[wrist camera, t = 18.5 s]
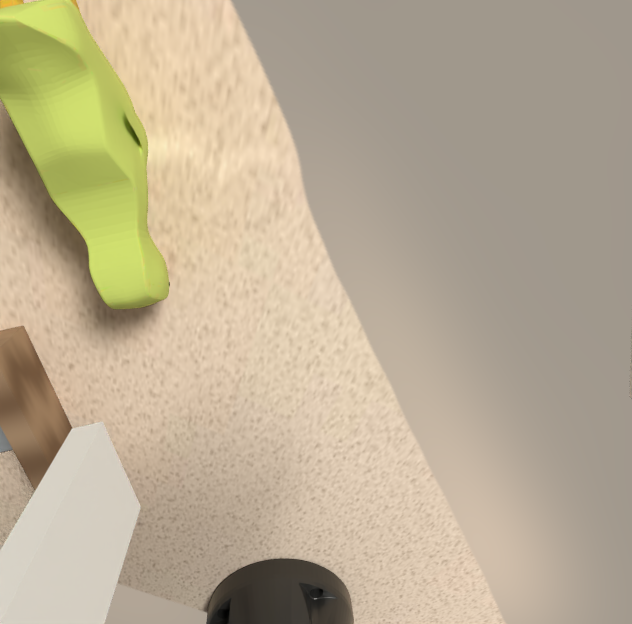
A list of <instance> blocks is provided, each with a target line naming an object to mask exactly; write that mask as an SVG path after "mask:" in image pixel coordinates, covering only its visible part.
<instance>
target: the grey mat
mask: <svg viewBox="0 0 632 624" xmlns="http://www.w3.org/2000/svg"><path fill="white" fill-rule="evenodd" d="M8 450H13V449H12V447H11V445H10V443H9V441H8V439H7V438H6V436H5V434H4V432H3V430H2V428H1V426H0V452H4V451H8Z"/></svg>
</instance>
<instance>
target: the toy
mask: <svg viewBox="0 0 632 624" xmlns="http://www.w3.org/2000/svg"><path fill="white" fill-rule="evenodd" d="M0 99H1V101H2V103H3V104H4V106H5V108H6V110H7V112H8V114H9V116H10V118H11V120H12V122H13V124H14V126H15V128H16V130H17V132H18V134H19V136H20V138H21V140H22V142H23V143H24V145H25V147H26V149H27V151H28V153H29V155H30V157H31V159H32V161H33V163H34V165H35V167H36V169H37V171H38V173H39V175H40V177H41V179H42V181H43V183H44V185H45V187H46V189H47V191H48V193H49V195H50V197H51V199H52V200H53V202H54V203H55V204H56V205H57V207H58V208H59V209H60V210H61V211H62V213H63V214H64V215H65V216H66V217H67V218H68V219H69V221H70V222H71V223H72V224H73V225H74V227H75V228H76V229H77V230H78V231H79V233H80V234H81V236H82V237H83V239H84V240H85V242H86V245H87V247H88V253H89V270H90V274H91V278H92V280H93V283H94V285H95V287H96V289H97V291H98V293H99V295H100V296H101V298H102V299H103V301H104V302H105V303H106V304H107V305H108V306H109V307H110V308H112V309H133V308H141V307H146V306H149V305H152V304H154V303H156V302H159V301H161V300H164V299H166V298H167V296H168V293H169V286H170V283H169V278H168V272H167V267H166V263H165V260H164V258H163V256H162V255H161V253H160V252H159V250H158V249H157V247H156V246H155V244H154V242H153V241H152V239H151V237H150V235H149V232H148V227H147V212H148V186H147V171H146V166H147V156H148V141H147V136H146V132H145V129H144V127H143V125H142V123H141V121H140V120H139V118H138V116H137V115H136V113H135V110H134V107H133V104H132V102H131V99H130V97H129V95H128V93H127V91H126V89H125V87H124V85H123V83H122V82H121V80H120V78H119V77H118V75H117V74H116V72H115V71H114V69H113V68H112V66H111V65H110V63H109V62H108V60H107V59H106V57H105V56H104V54H103V53H102V51H101V50H100V48H99V47H98V45H97V44H96V42H95V40H94V39H93V37H92V36H91V34H90V32H89V30H88V28H87V26H86V24H85V22H84V20H83V18H82V16H81V13H80V11H79V8H78V5H77V2H76V0H40V1H34V2H29V3H23V0H0Z"/></svg>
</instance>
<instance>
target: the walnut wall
mask: <svg viewBox="0 0 632 624" xmlns="http://www.w3.org/2000/svg"><path fill="white" fill-rule="evenodd" d="M0 426H1V428H2V430H3V432H4V434H5V436H6V438H7V439H8V441H9V443H10V445H11V447H12V449H13V451H14V452H15V454H16V456H17V458H18V460H19V462H20V464H21V465H22V467H23V469H24V471H25V473H26V475H27V477H28V478H29V480H30V482H31V484H32V486H33V488H34V490H36V489H37V487H38V485H39V484H40V482H41V480H42V479H43V477H44V475H45V473H46V472H47V470H48V468H49V467H50V465H51V463H52V462H53V460H54V458H55V457H56V455H57V453H58V451H59V450H60V448H61V446H62V445H63V443H64V441H65V440H66V438H67V436H68V434H69V433H70V431H71V429H72V427H71V425H70V423H69V421H68V418H67V416H66V414H65V412H64V410H63V408H62V406H61V404H60V402H59V399H58V397H57V395H56V393H55V391H54V389H53V387H52V385H51V383H50V380H49V378H48V376H47V374H46V372H45V370H44V368H43V366H42V364H41V362H40V359H39V357H38V355H37V353H36V351H35V349H34V347H33V345H32V343H31V340H30V338H29V336H28V334H27V332H26V330H25V328H24V326H20V327H15V328H11V329H7V330H2V331H0Z"/></svg>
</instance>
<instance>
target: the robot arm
mask: <svg viewBox="0 0 632 624" xmlns="http://www.w3.org/2000/svg"><path fill="white" fill-rule="evenodd" d="M631 332H632V331H631ZM630 398H631V399H632V333H631V366H630ZM140 508H141V506H140V504H139V502H138V499H137V497H136V495H135V493H134V490H133V488H132V486H131V484H130V482H129V479H128V477H127V475H126V473H125V470H124V468H123V466H122V464H121V462H120V459H119V457H118V455H117V453H116V450H115V448H114V446H113V444H112V441H111V439H110V437H109V435H108V433H107V430H106V428H105V426H104V424H103V422H99V423H94V424H90V425H85V426H81V427H77V428H72V429H71V431H70V433H69V434H68V436H67V438H66V440H65V441H64V443H63V445H62V446H61V448H60V450H59V451H58V453H57V455H56V457H55V458H54V460H53V462H52V463H51V465H50V467H49V468H48V470H47V472H46V473H45V475H44V477H43V479H42V480H41V482H40V484H39V485H38V487H37V489H36V490H35V492H34V494H33V496H32V497H31V499H30V501H29V502H28V504H27V506H26V507H25V509H24V511H23V513H22V514H21V516H20V518H19V519H18V521H17V523H16V524H15V526H14V528H13V530H12V531H11V533H10V535H9V536H8V538H7V540H6V541H5V543H4V545H3V547H2V548H1V550H0V624H104V623H105V620H106V617H107V614H108V610H109V607H110V604H111V601H112V598H113V594H114V591H115V588H116V585H117V582H118V579H119V575H120V572H121V569H122V566H123V563H124V559H125V556H126V553H127V550H128V547H129V543H130V540H131V537H132V534H133V531H134V527H135V524H136V521H137V518H138V515H139V511H140ZM207 624H354V618H353V611H352V604H351V598H350V595H349V592H348V590H347V588H346V586H345V585H344V583H343V582H342V581H341V580H340V579H339V578H338V577H337V576H336V575H335V574H334V573H332V572H331V571H329V570H328V569H326V568H324V567H322V566H319V565H317V564H314V563H311V562H307V561H303V560H296V559H274V560H267V561H262V562H258V563H255V564H252V565H249V566H247V567H244V568H242V569H240V570H238V571H237V572H235V573H233V574H232V575H230V576H229V577H228V578H227V579H225V580H224V581H223V582H222V583H221V584H220V585H219V586H218V588H217V589H216V590H215V592H214V594H213V596H212V597H211V600H210V603H209V607H208V615H207Z"/></svg>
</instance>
